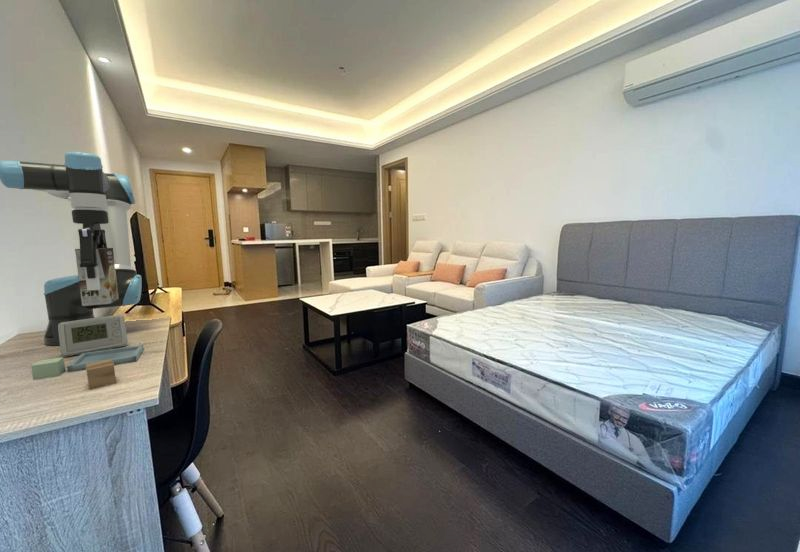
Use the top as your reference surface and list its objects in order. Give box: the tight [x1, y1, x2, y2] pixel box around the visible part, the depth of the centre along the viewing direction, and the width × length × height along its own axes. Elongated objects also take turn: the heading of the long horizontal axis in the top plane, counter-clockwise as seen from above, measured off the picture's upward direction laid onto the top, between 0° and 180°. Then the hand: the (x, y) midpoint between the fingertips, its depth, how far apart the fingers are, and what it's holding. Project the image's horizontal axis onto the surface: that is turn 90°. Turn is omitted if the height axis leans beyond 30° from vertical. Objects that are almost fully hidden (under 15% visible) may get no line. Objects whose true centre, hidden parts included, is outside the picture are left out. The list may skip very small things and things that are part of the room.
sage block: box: [30, 356, 66, 381], centre depth 88 cm, size 4×5×4 cm
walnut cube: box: [85, 360, 117, 390], centre depth 83 cm, size 5×5×5 cm
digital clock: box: [58, 314, 129, 358], centre depth 107 cm, size 16×9×11 cm, turn 122°
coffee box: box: [74, 248, 119, 306], centre depth 95 cm, size 9×6×16 cm
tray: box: [66, 344, 145, 373], centre depth 99 cm, size 12×15×2 cm
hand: (99, 287), depth 96 cm, fingers closed on coffee box, 9 cm apart
